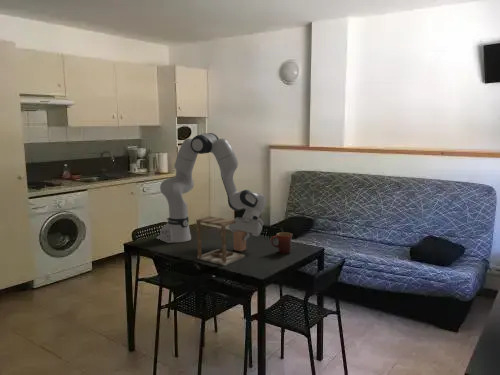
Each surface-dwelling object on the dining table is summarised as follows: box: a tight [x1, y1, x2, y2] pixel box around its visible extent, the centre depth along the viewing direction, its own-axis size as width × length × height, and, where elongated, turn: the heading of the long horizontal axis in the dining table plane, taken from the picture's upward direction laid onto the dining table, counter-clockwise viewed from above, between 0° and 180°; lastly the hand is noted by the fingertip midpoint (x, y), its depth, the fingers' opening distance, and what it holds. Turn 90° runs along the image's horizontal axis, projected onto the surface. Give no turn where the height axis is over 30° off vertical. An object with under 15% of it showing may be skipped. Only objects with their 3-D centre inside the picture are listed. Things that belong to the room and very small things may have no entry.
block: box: [232, 231, 247, 252], centre depth 238 cm, size 5×5×10 cm
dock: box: [195, 215, 246, 266], centre depth 225 cm, size 19×16×21 cm
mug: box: [270, 231, 293, 255], centre depth 233 cm, size 12×9×10 cm
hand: (239, 239), depth 237 cm, fingers closed on block, 5 cm apart
